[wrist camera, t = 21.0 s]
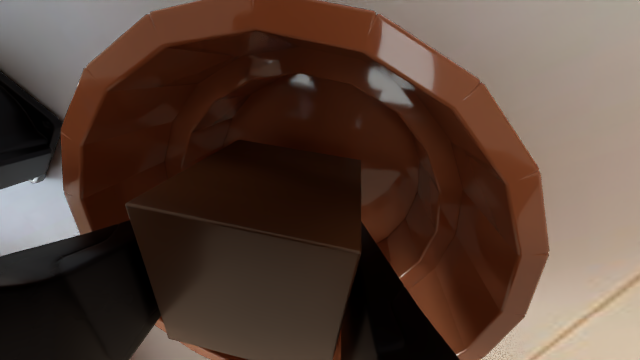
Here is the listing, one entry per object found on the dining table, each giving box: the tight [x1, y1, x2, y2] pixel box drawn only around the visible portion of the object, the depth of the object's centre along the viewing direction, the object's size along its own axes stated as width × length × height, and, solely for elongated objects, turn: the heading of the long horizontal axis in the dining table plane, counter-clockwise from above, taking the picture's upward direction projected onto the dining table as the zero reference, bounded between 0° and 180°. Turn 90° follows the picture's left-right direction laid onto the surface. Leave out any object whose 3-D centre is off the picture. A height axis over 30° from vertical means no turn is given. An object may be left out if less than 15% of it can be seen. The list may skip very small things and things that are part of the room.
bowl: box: [60, 0, 549, 360], centre depth 10 cm, size 13×13×7 cm
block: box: [125, 140, 361, 360], centre depth 8 cm, size 5×5×5 cm
